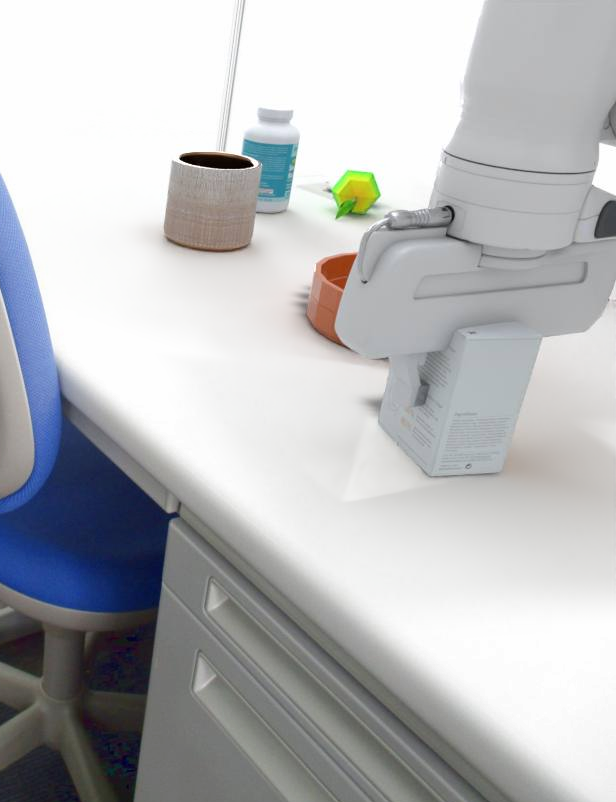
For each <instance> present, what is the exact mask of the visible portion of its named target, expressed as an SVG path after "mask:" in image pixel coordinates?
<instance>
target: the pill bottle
mask: <svg viewBox="0 0 616 802" xmlns="http://www.w3.org/2000/svg"><path fill="white" fill-rule="evenodd" d="M256 115H257V120H256V121H254V122H251V123H250V124H248V125H247V126H246V127H245V129H244V131H243V138H242V144H241V145H242V146H241V152H240V153H241V154H240V155H244V156H247V157H251V158H254V159H256V160H258V161H259V162H261V163H262V171H261V178H260V185H259V192H258V200H257V207H256V213H264V214H265V213H267V214H268V213H269V214H273V213H280V212H284V211H285V210H287V208H288V207H289V204H290V199H291V192H292V187H293V180H294V175H295V169H296V162H297V157H298V150H299V144H300V140H301V139H300V135H301V134H300V131H299V129H298V128H297V127H296V126H295V125H292V124H291V121H292V119H293V117H294V108H293V107H291V106H287V105H279V104H259V105H258V106H257V112H256Z"/></svg>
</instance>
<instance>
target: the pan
mask: <svg viewBox="0 0 616 802" xmlns="http://www.w3.org/2000/svg"><path fill="white" fill-rule="evenodd" d="M358 252H359V251H357V252H356V251H355V252H344V253H343V252H342V253H337V254H333V255H329V256H326V257H323V258H322V259H320V260H319V261H318V262H316V263H315V264H314V268H313V274H312V279H311V285H310V289H309V296H308V300H307V307H306V316H307V318H309V321H310V324H311V325H312V326H313V328H314V327H315V328H316V329H317V330H318V331H319V332H318V331H317V330H316V329H315V328H314V329H315V330H316V331H317V332H318V333H320V334H321V333H322V334H323V335H322V334H321V335H322V336H323V337H325V338H327V339H329V340H330V341H332V342H334V341H335V342H334V343H336V344H338V343H339V345H341V346H343V347H345V346H346V345H345V344H344V343H342V342H341V340H340V339H339V337H338V335H337V333H336V331H335V320H336V316H337V312H338V308H339V305H340V301H341V298H342V295H343V292H344V289H345V286H346V283H347V280H348V277H349V274H350V271H351V269H352V266H353V263H354V261H355V259H356V257H357V255H358ZM346 348H348V346H346ZM386 359H389V358H388V357H387V358H386Z"/></svg>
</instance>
